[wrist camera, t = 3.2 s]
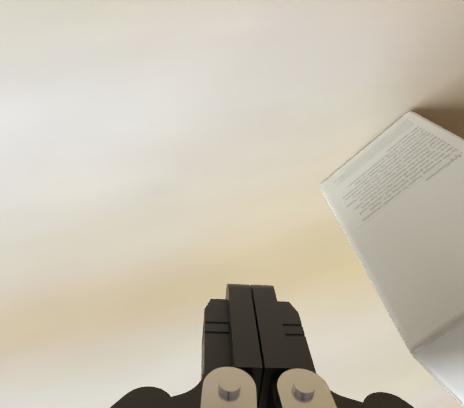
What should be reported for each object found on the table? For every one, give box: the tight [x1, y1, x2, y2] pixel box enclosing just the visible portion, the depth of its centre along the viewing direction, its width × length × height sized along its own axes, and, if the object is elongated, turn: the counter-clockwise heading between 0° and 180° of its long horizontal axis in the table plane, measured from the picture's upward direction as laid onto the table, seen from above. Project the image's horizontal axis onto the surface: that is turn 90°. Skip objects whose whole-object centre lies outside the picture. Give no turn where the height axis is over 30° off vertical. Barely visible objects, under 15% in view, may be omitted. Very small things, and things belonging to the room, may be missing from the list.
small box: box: [320, 111, 464, 407], centre depth 18 cm, size 8×6×13 cm
